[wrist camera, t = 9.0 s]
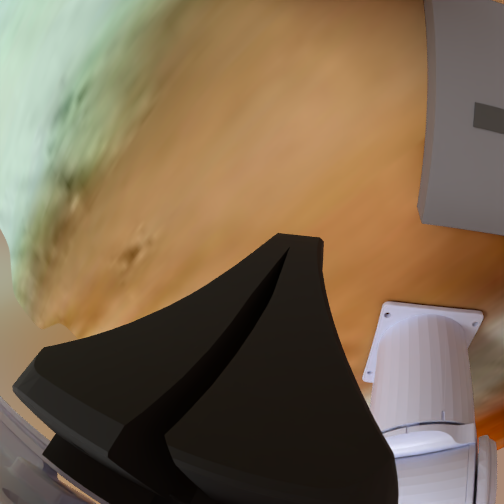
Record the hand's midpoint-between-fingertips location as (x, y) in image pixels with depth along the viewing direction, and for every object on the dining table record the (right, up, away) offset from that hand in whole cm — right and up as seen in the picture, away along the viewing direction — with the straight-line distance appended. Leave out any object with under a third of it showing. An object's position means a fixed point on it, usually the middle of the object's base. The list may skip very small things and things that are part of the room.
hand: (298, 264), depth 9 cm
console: (+18, +7, 0) cm, 19 cm away
